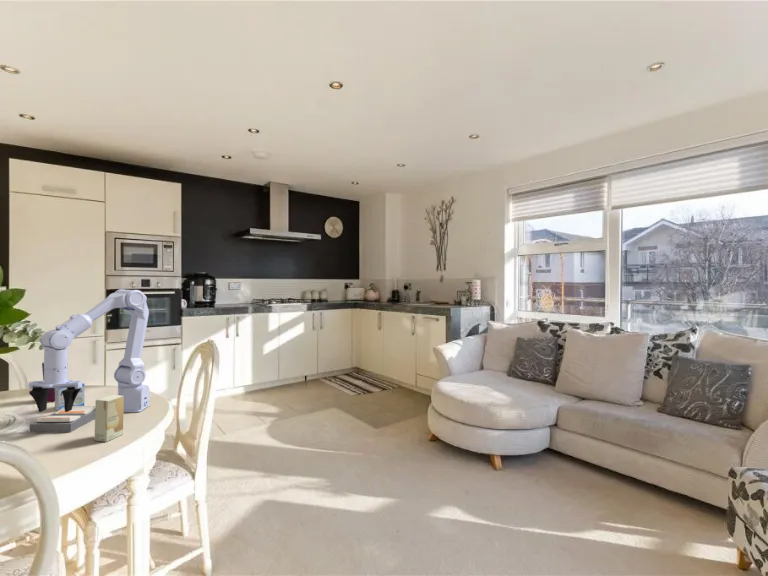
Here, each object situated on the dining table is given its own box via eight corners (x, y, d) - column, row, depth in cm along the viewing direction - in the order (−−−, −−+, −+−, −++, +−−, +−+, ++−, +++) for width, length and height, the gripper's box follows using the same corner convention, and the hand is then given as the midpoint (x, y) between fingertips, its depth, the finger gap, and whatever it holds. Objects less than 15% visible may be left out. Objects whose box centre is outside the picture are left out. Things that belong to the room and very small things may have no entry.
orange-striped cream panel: (95, 408, 135) (95, 405, 135) (85, 416, 130) (85, 413, 130) (65, 408, 134) (65, 405, 134) (55, 416, 129) (54, 413, 129)
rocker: (80, 418, 128) (80, 415, 128) (69, 421, 123) (70, 418, 123) (48, 419, 127) (49, 415, 127) (36, 422, 122) (37, 418, 122)
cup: (58, 402, 149) (58, 363, 149) (37, 403, 147) (37, 364, 147) (68, 397, 156) (68, 359, 155) (48, 398, 154) (48, 360, 154)
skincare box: (106, 442, 115) (106, 401, 115) (93, 441, 116) (94, 400, 115) (124, 434, 121) (124, 395, 121) (112, 432, 122) (112, 394, 122)
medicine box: (57, 411, 139) (58, 387, 139) (54, 409, 142) (54, 385, 142) (84, 406, 145) (85, 383, 145) (80, 403, 148) (81, 381, 148)
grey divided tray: (101, 415, 137) (101, 408, 136) (70, 432, 122) (70, 423, 122) (64, 415, 135) (64, 408, 135) (29, 432, 121) (29, 424, 120)
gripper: (20, 370, 118) (20, 415, 118) (71, 371, 120) (71, 415, 120) (38, 365, 125) (38, 407, 126) (86, 366, 127) (86, 407, 127)
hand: (55, 410), depth 123 cm, fingers open, 7 cm apart
